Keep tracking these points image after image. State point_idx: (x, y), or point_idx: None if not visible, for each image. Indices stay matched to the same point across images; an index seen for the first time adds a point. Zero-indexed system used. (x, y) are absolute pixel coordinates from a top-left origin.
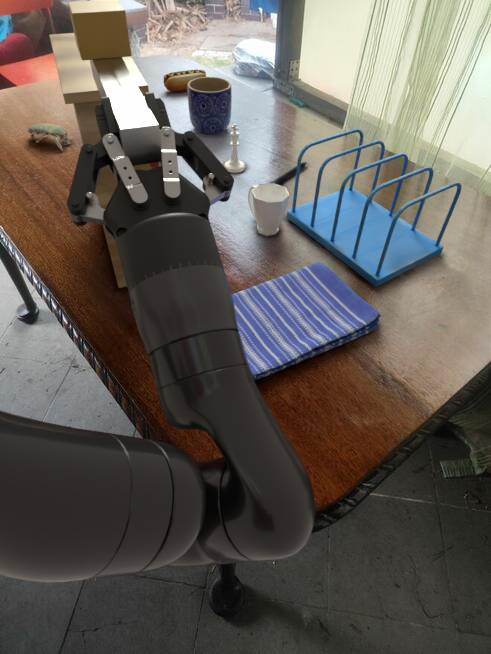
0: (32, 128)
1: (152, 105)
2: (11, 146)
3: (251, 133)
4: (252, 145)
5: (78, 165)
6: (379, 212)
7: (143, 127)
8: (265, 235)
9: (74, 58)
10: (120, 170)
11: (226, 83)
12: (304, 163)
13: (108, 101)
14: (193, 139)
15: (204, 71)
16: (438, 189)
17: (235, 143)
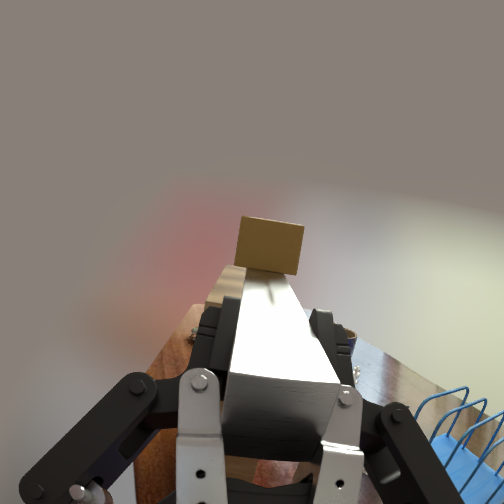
0: (194, 329)
1: (325, 334)
2: (175, 336)
3: (364, 374)
4: (364, 384)
5: (94, 412)
6: (470, 458)
7: (296, 382)
8: (366, 474)
9: (236, 280)
10: (183, 476)
11: (353, 334)
12: (407, 407)
13: (235, 305)
14: (403, 423)
15: (334, 323)
16: None
17: (354, 381)
